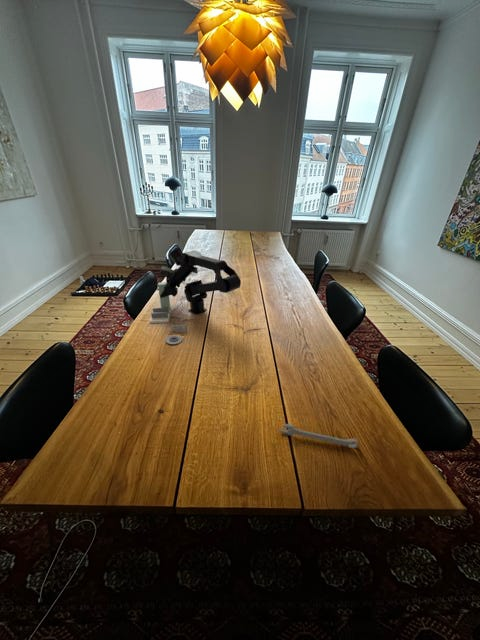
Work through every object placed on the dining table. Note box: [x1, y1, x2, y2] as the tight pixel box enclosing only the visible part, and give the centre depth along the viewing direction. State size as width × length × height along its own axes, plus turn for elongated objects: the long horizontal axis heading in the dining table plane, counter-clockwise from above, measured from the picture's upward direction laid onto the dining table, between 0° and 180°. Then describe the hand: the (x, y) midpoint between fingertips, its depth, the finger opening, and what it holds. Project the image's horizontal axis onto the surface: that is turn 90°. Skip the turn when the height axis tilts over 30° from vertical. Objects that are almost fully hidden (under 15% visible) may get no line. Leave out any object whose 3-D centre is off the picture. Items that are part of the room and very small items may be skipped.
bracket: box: [165, 324, 188, 345], centre depth 104 cm, size 7×10×4 cm, turn 174°
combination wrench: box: [278, 423, 359, 449], centre depth 66 cm, size 4×1×20 cm
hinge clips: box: [149, 307, 172, 324], centre depth 117 cm, size 8×10×4 cm
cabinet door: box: [156, 282, 171, 309], centre depth 124 cm, size 5×2×12 cm, turn 98°
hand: (161, 294), depth 123 cm, fingers open, 5 cm apart
